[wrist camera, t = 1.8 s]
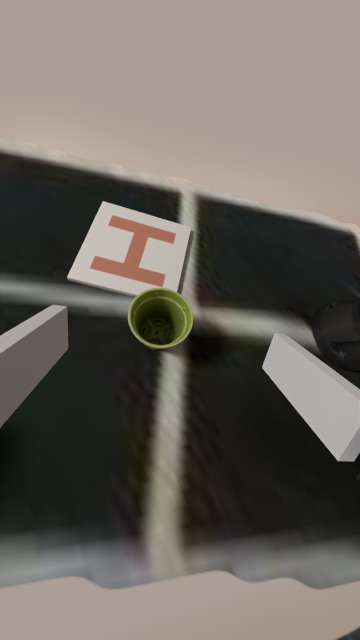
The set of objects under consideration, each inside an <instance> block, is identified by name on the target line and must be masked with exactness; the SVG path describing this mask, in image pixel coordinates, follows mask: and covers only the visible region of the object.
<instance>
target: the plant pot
mask: <svg viewBox="0 0 360 640" xmlns="http://www.w3.org/2000/svg"><path fill="white" fill-rule="evenodd" d="M156 320H159V321H162V322H163V323H160V322H155V321H156ZM128 322H129V326H130V328H131V330H132V332H133V334H134V335H135V336H136V337H137V339H139V340H140V341H141V342H142V343H144V344H145V345H146V346H147V347H149V348H151V349H163V348H168V347H172V346H175V345H177V344H179V343H180V342H182V341H183V340H184V339H185V338H186V337H187V336H188V334H189V333H190V331H191V329H192V325H193V313H192V309H191V307H190V305H189V303H188V302H187V300H186V299H185V298H184V297H183V296H182V295H181V294H179V293H177V292H176V291H173V290H171V289H167V288H151V289H148V290H146V291H143V292H141V293H140V294H139V295H137V296H136V297H135V298H134V300H133V301H132V303H131V305H130V307H129V311H128ZM143 328H145V332H144V335H143ZM156 331H157V332H158V334H156ZM169 332H170V338H169V339H168V336H169Z"/></svg>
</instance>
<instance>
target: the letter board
mask: <svg viewBox="0 0 360 640" xmlns="http://www.w3.org/2000/svg"><path fill="white" fill-rule="evenodd" d="M190 230H191V227H187V226H184V225H181V224H177V223H174V222H171V221H167V220H164V219H161V218H157V217H154V216H151V215H147V214H144V213H141V212H137V211H134V210H130V209H127V208H124V207H120V206H117V205H114V204H110V203H107V202H104V201H103V202H102V204H101V207H100V209H99V211H98V213H97V215H96V217H95V219H94V221H93V224H92V226H91V228H90V230H89V232H88V234H87V236H86V238H85V240H84V243H83V245H82V247H81V249H80V251H79V253H78V255H77V257H76V260H75V262H74V264H73V266H72V268H71V270H70V272H69V274H68V277H67V278H68V280H69V281H73V282H77V283H81V284H85V285H89V286H93V287H97V288H101V289H105V290H109V291H113V292H117V293H121V294H125V295H129V296H133V297H136V296H137V295H139V294H140V293H141V292H143V291H146V290H148V289H151V288H167V289H171V290H173V291H176V292H177V290H178V286H179V281H180V276H181V272H182V267H183V263H184V258H185V253H186V249H187V244H188V240H189V235H190Z"/></svg>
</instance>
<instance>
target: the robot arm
mask: <svg viewBox="0 0 360 640" xmlns="http://www.w3.org/2000/svg"><path fill="white" fill-rule="evenodd" d="M312 330H313V335H314V338H315V341H316V343H317V345H318V347H319V349H320V350H321V352H322V353H323V354H324V356H325V357H326V358H327V359H328V360H329V361H331V362H332V363H333V364H334V365H336V366H338V367H340V368H342V369H344V370H348V371H360V298H358V299H351V300H344V301H337V302H332V303H330V304H328V305H326V306H323V307H322V308H320V309H319V310H318V311H317V312H316V313H315V315H314V318H313V322H312ZM67 349H68V324H67V307H66V306H58V305H52V306H50V307H48V308H47V309H45V310H43V311H42V312H40V313H38V314H36V315H35V316H33V317H31V318H30V319H28V320H26V321H25V322H23V323H21V324H19V325H18V326H16V327H14V328H13V329H11V330H9V331H8V332H6V333H4V334H3V335H1V336H0V427H1V426H2V425H3V424H4V423H5V421H6V420H7V419H8V418H9V417H10V416H11V414H12V413H13V412H14V411H15V410H16V409H17V407H18V406H19V405H20V404H21V403H22V402H23V400H24V399H25V398H26V397H27V396H28V395H29V393H30V392H31V391H32V390H33V389H34V388H35V386H36V385H37V384H38V383H39V382H40V381H41V380H42V378H43V377H44V376H45V375H46V374H47V373H48V371H49V370H50V369H51V368H52V367H53V366H54V364H55V363H56V362H57V361H58V360H59V359H60V357H61V356H62V355H63V354H64V353H65V352H66V350H67ZM262 368H263V369H264V370H265V372H266V373H267V374H268V375H269V377H270V378H271V379H272V380H273V382H274V383H275V384H276V385H277V386H278V388H279V389H280V390H281V391H282V393H283V394H284V395H285V396H286V398H287V399H288V400H289V401H290V403H291V404H292V405H293V406H294V407H295V409H296V410H297V411H298V412H299V414H300V415H301V416H302V417H303V419H304V420H305V421H306V422H307V423H308V425H309V426H310V427H311V428H312V430H313V431H314V432H315V433H316V435H317V436H318V437H319V438H320V440H321V441H322V442H323V443H324V444H325V446H326V447H327V448H328V449H329V451H330V452H331V453H332V454H333V456H334V457H335V458H336V459H337V460H338V461H354V460H355V459H356V457H357V456H358V454H359V453H360V389H358V388H357V387H356V386H354V385H353V384H352V383H350V382H349V381H348V380H346V379H345V378H344V377H342V376H341V375H339V374H338V373H337V372H335V371H334V370H333V369H331V368H330V367H329V366H327V365H326V364H325V363H323V362H322V361H321V360H319V359H318V358H317V357H315V356H314V355H312V354H311V353H310V352H308V351H307V350H306V349H304V348H303V347H302V346H300V345H299V344H298V343H296V342H295V341H294V340H292V339H291V338H290V337H288V336H287V335H285V334H279V333H275V334H274V337H273V339H272V342H271V345H270V348H269V350H268V353H267V356H266V358H265V361H264V364H263V367H262ZM355 479H357V480H359V479H360V470H359V471H358V472H357V474H356V477H355Z"/></svg>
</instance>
